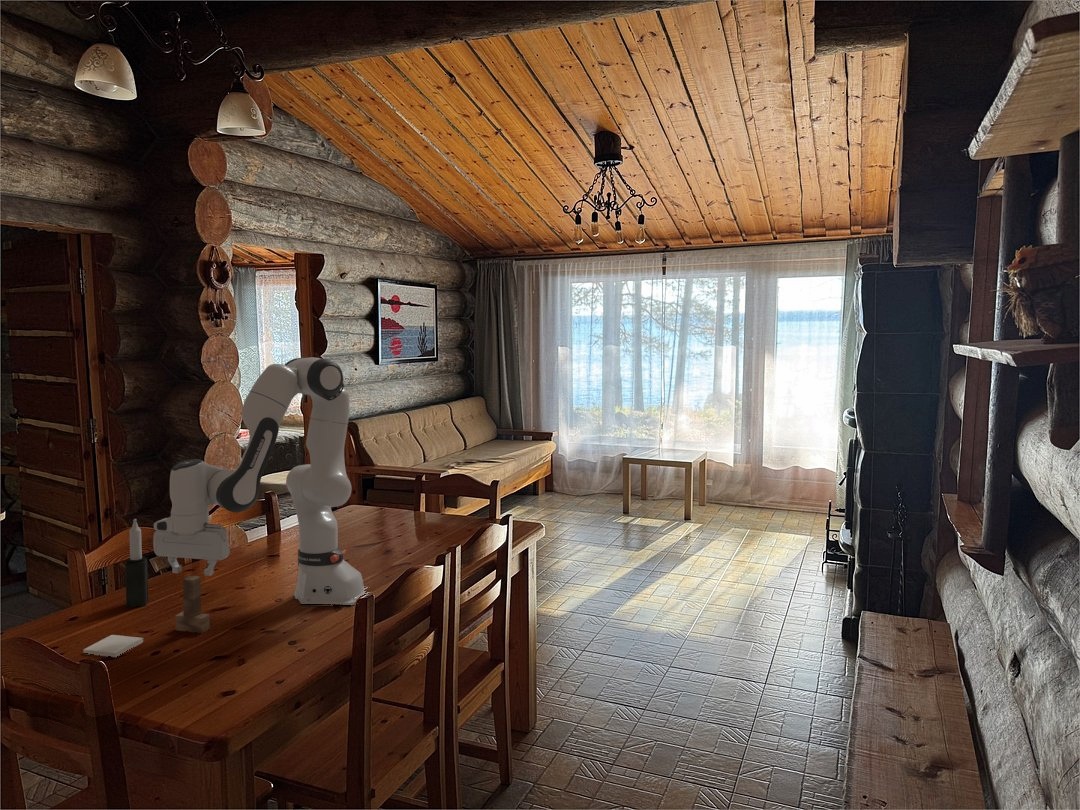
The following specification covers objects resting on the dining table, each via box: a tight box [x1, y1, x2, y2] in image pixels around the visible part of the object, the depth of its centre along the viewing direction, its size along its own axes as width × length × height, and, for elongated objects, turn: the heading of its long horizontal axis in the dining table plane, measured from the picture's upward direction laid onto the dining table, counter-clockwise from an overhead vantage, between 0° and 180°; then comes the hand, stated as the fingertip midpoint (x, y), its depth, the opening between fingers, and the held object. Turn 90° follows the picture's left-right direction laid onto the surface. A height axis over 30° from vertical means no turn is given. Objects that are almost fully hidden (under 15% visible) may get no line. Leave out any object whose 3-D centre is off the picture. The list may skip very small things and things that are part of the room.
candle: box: [124, 518, 149, 608], centre depth 204 cm, size 5×5×25 cm
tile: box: [82, 634, 144, 658], centre depth 176 cm, size 9×2×9 cm
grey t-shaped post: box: [174, 575, 211, 634], centre depth 188 cm, size 8×3×14 cm, turn 78°
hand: (193, 573), depth 187 cm, fingers open, 8 cm apart
